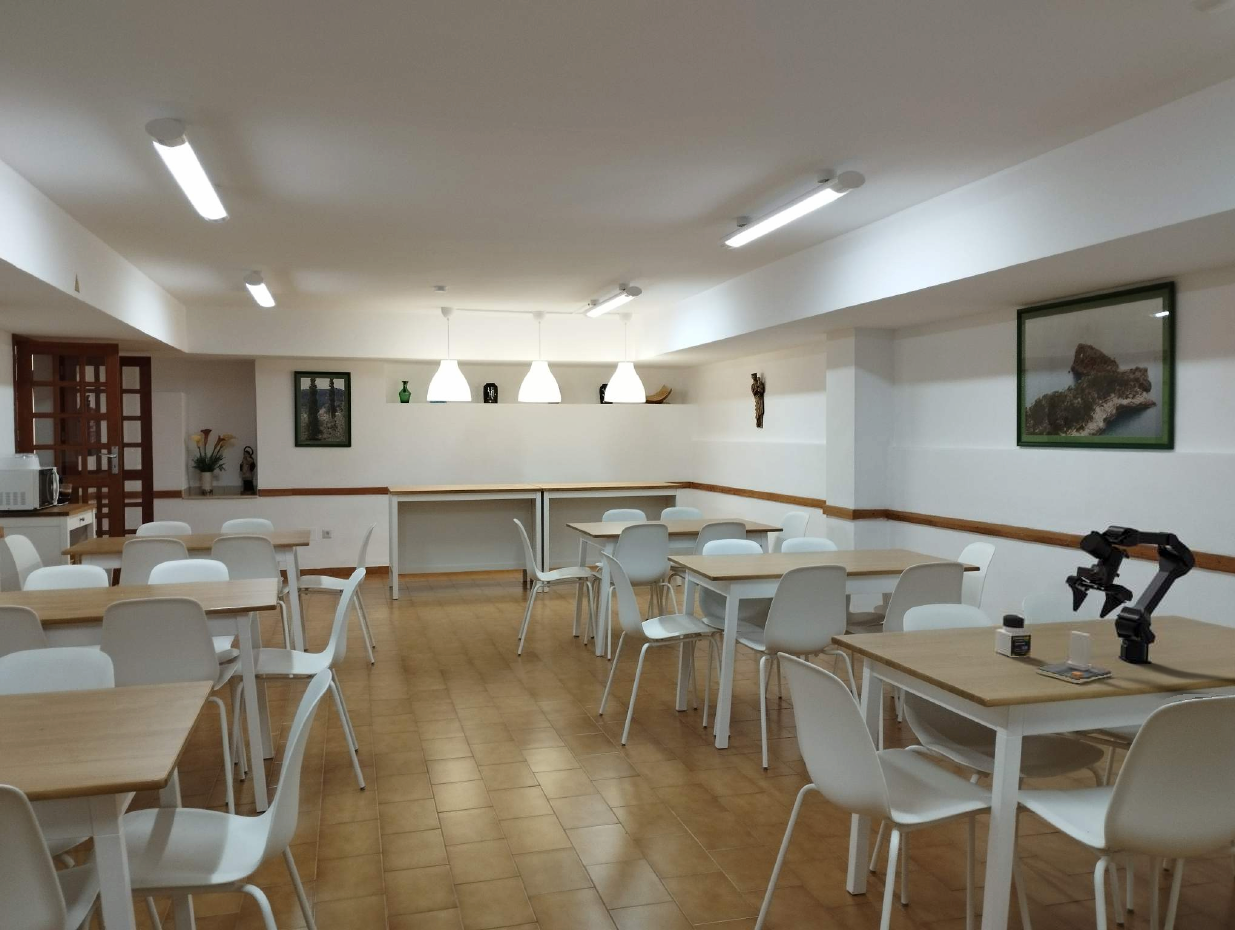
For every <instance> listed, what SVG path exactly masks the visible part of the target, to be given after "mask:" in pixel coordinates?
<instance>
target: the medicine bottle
mask: <svg viewBox="0 0 1235 930" xmlns="http://www.w3.org/2000/svg"><path fill="white" fill-rule="evenodd" d="M1025 624H1026V619H1025V617H1024V616H1022V615H1019V614H1014V613H1013V614H1005V615H1003V616H1002V628H999V629H996V630H995V646H994V647H995V650H994V651H998V652H1000V653H1003V654H1007V655H1008V656H1030V657H1031V647H1032V646H1031V645H1032V644H1031V643H1032V642H1031V641H1032V634H1031V633H1029V632H1027V631H1025Z"/></svg>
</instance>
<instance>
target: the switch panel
mask: <svg viewBox="0 0 1235 930" xmlns="http://www.w3.org/2000/svg"><path fill="white" fill-rule="evenodd" d="M1066 662H1069V660H1067V661H1063V662H1059V663H1053V664H1048V665H1045V666H1040V667H1035V669H1039V670H1042V671H1046V672H1051V673H1053V674H1058V675H1060V676H1065V677H1069V678H1071V679H1075V680H1080V679H1090V678H1092V677H1098V676H1104V675H1108V674H1111V675H1112V670H1108V669H1105V668H1101V667H1097V666H1093V665H1092V669H1089V670H1085V671H1082V670H1079V669H1075V668H1071V667H1067V666H1066Z"/></svg>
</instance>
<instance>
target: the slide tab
mask: <svg viewBox="0 0 1235 930" xmlns="http://www.w3.org/2000/svg"><path fill="white" fill-rule="evenodd" d="M1068 651H1069V653H1068V661H1069V662H1067V661H1065V662H1066V666H1067V667H1071V668H1075V669H1079V670H1082V671H1085V670H1089V669H1092V666H1093V664H1090V658H1091V633H1090V634H1089V633H1085V632H1081V631H1076V630H1072V631H1070V632H1069V649H1068Z"/></svg>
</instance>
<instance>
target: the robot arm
mask: <svg viewBox="0 0 1235 930" xmlns="http://www.w3.org/2000/svg"><path fill="white" fill-rule="evenodd" d="M1138 545H1154V546H1157V547H1156V553H1157V555H1158V557H1159V560H1158V571H1157V573H1156V574H1155V575H1154V577H1153V578H1152V580H1151V581H1150V583H1149V584H1148V585H1147V587H1146V588H1145V590H1144V591H1143V592H1142V594H1141V596H1140V597H1139V598H1138V599H1137V601H1136V602H1135V604H1134V605H1133V606H1127V605H1125V606H1124V605H1123V604H1127V602H1132V600H1133V597H1134V594H1133V591H1132V590H1130V589H1128V588H1127V587H1125V586H1124V585H1121V584H1117V583H1114V582H1115V579H1116V578H1119V577H1120V575H1121V574H1120V573H1119V570H1120V567H1121V564H1122V562H1123V560H1124V559H1128V560H1129V559H1130V555H1129V553H1128V549H1125V548H1134V547H1138ZM1119 547H1123V548H1119ZM1124 547H1125V548H1124ZM1168 547H1170V548H1168ZM1079 548H1080V549H1081V551H1083V552H1085V553H1086V554H1088V555H1089V556H1091V557H1092V558H1094V559H1096V560H1097V561H1096V562H1097V563H1092V565H1091V566H1090V567H1086V566H1077V568H1076V575H1073V574H1072V575H1071V574H1070V575H1068V576H1067V578H1066V579H1065V584H1067V586H1068V587H1069V588H1070V589H1071V591H1072V611H1073V612H1075V613H1077V611H1078V610H1079V609H1080V608H1081V607H1082V604H1084V601H1085V600H1086V599H1087V597H1088V596H1089V593H1088V592H1089V591H1090V590H1093V591H1098V592H1103V593H1104V595H1105V597H1104V598H1105V600H1104V603H1103V605H1102V606H1101V609H1100V610H1101V611H1100V614H1099V618H1100V619H1104V618H1105V617H1106V616H1108V615H1109V614H1110V613H1112V612H1113V611H1114V610H1116V609H1117V608H1118V607H1119V606H1121V605H1123V607H1121V610H1120V612H1119V613H1117V615H1116V619H1115V621H1114V628H1115V631H1116V636H1117V638H1118V639H1121V640H1122V641H1121V644H1120V650H1119V651H1120V654H1119V655H1118V659H1121V660H1123V661H1125V660H1126V661H1125V662H1127V661H1128V663H1129V662H1131V663H1130V664H1142V663H1141V662H1148V663H1147V664H1152V663H1151V662H1152V661H1151V660H1149V652H1150V650H1149V648H1150V645H1152V644H1154V643H1155V640H1156V635H1155V633H1154V632H1153V631H1152V629H1151V626H1152V617H1151V616H1152V614H1153V612H1155V610H1156V608H1158V606H1159V605H1160V603H1161V601H1162V600H1163V599H1164V597H1165V596H1166V594H1167V593H1168V591H1169V590H1170V589H1171V587H1172V586H1173V585H1174V583H1175V582H1176V580H1178V579H1180V578H1182V577H1184V576H1186V575H1187V574H1188V573H1190V571H1191V570H1192V569H1193V568H1194V566H1195V564H1196V558H1195V556H1194V554H1193V552H1191V550H1190V548H1189V547H1188V546H1187V545H1186V544H1184V543H1183V542H1182V541H1181V540H1180V539H1179V537H1178V536H1177V534H1175V533H1173V532H1166V531H1159V532H1158V531H1140V530H1138V529H1135V528H1133V527H1126V526H1119V525H1110V526H1108V528H1107V529H1106V530H1104V531H1103V532H1102V533H1101V532H1099V531H1098V530H1091V531H1090V533H1088V534H1086V535H1085V536H1084V537H1083V538H1082V539H1081V540H1080V542H1079ZM1149 662H1150V663H1149Z"/></svg>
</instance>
